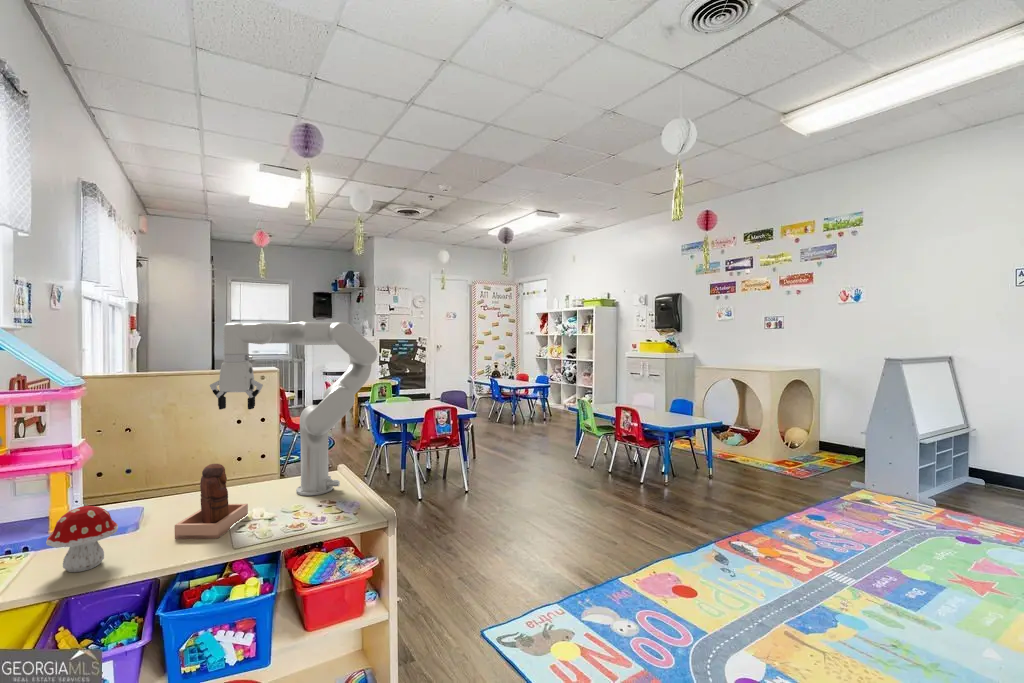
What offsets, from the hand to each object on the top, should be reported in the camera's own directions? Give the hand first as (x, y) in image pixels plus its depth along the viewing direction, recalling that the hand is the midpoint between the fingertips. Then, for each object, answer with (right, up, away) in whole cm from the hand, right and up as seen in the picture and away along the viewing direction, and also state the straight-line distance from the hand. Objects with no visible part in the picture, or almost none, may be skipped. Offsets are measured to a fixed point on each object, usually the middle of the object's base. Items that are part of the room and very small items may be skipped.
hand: (236, 408), depth 169 cm
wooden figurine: (+5, -32, -20) cm, 38 cm away
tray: (+5, -33, -21) cm, 39 cm away
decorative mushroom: (-13, -34, -46) cm, 58 cm away
